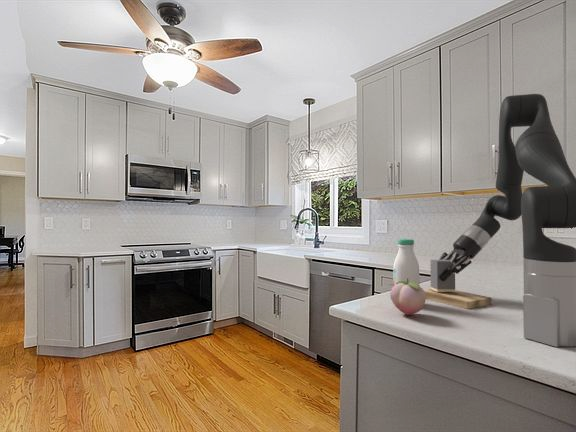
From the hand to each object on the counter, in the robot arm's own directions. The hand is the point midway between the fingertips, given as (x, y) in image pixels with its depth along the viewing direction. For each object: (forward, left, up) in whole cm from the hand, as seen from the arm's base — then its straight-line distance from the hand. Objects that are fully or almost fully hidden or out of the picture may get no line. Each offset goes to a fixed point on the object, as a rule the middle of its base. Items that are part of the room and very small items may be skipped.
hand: (437, 278), depth 108 cm
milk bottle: (-15, -1, -7) cm, 17 cm away
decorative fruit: (-24, -10, -7) cm, 27 cm away
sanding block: (+2, -1, -4) cm, 5 cm away
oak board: (+2, -5, -7) cm, 8 cm away
